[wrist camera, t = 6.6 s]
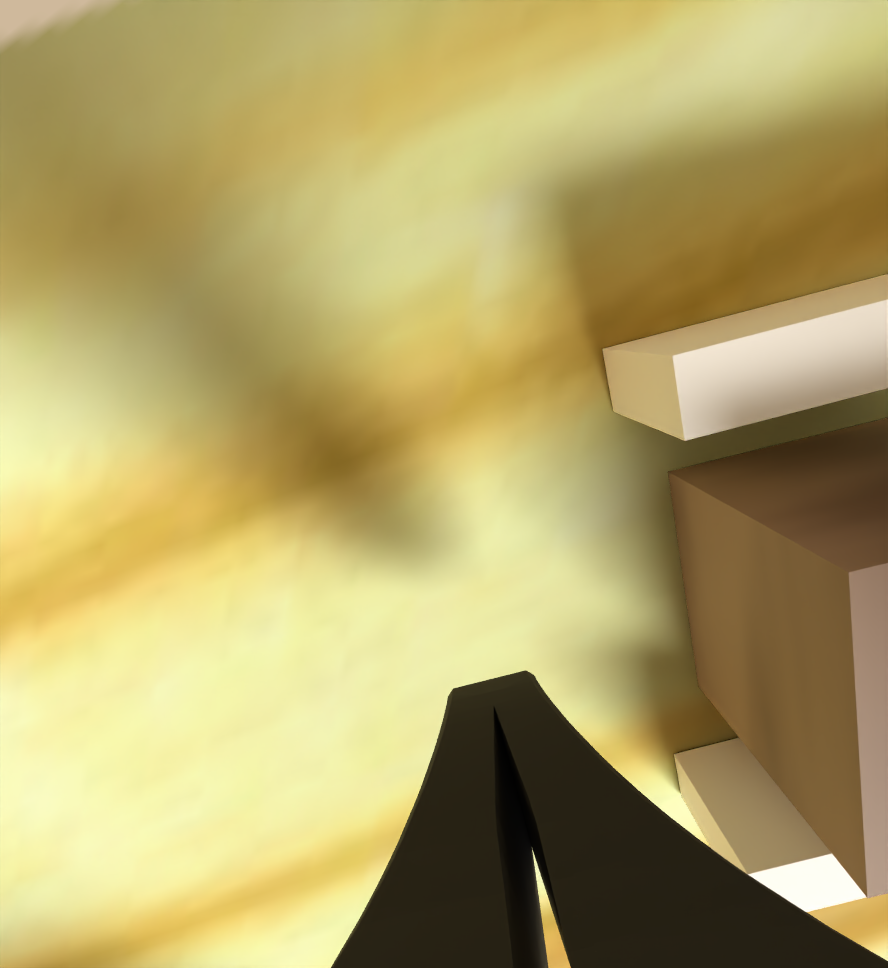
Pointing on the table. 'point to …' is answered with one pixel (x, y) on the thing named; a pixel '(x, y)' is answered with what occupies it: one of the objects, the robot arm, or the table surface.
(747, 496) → the walnut cube
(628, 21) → the table surface
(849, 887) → the dock
